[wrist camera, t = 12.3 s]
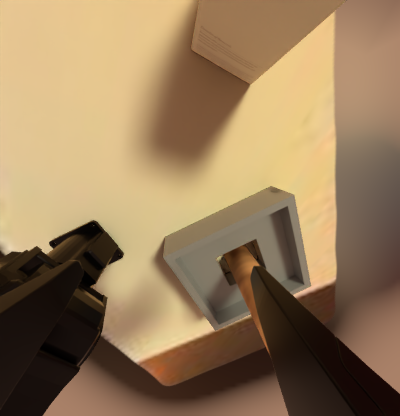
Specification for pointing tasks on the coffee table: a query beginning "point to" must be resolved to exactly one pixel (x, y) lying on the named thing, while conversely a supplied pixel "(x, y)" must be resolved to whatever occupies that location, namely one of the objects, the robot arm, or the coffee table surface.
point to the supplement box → (254, 31)
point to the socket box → (233, 238)
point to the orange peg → (244, 279)
